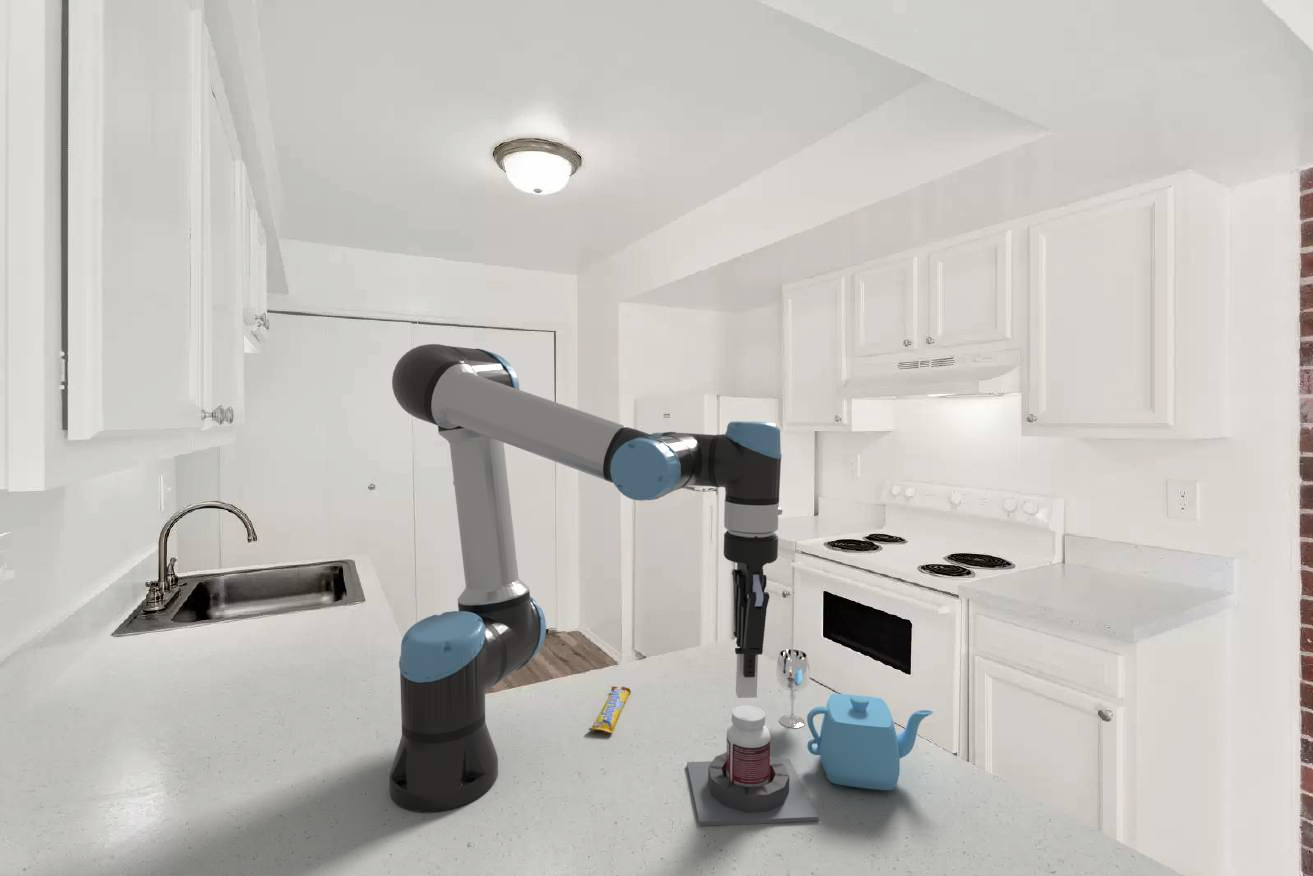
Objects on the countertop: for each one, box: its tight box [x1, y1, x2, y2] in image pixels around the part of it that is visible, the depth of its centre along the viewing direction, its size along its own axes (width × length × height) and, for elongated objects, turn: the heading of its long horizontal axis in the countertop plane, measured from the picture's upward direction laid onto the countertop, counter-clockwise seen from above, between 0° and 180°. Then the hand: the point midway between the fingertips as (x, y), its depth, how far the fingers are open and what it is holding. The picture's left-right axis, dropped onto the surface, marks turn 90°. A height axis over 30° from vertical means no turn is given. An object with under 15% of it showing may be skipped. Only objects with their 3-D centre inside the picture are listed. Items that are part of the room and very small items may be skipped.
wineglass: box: [775, 648, 811, 729], centre depth 111 cm, size 6×6×12 cm
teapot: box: [806, 693, 934, 791], centre depth 96 cm, size 12×18×12 cm
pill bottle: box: [725, 705, 771, 787], centre depth 91 cm, size 6×6×11 cm
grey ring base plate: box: [686, 751, 819, 827], centre depth 91 cm, size 16×14×3 cm
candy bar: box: [588, 685, 632, 734], centre depth 115 cm, size 17×4×2 cm, turn 170°
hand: (746, 695), depth 91 cm, fingers closed
